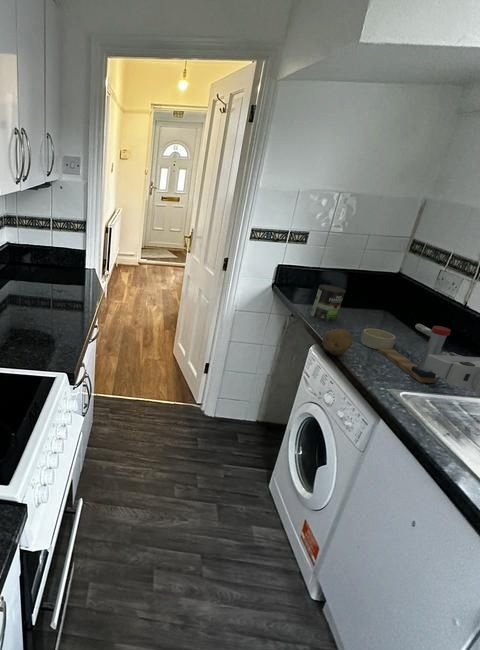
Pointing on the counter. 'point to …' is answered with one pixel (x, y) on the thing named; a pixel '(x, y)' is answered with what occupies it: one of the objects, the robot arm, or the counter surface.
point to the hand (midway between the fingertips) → (446, 354)
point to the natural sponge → (337, 341)
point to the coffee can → (327, 302)
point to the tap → (431, 347)
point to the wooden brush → (404, 364)
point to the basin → (377, 339)
